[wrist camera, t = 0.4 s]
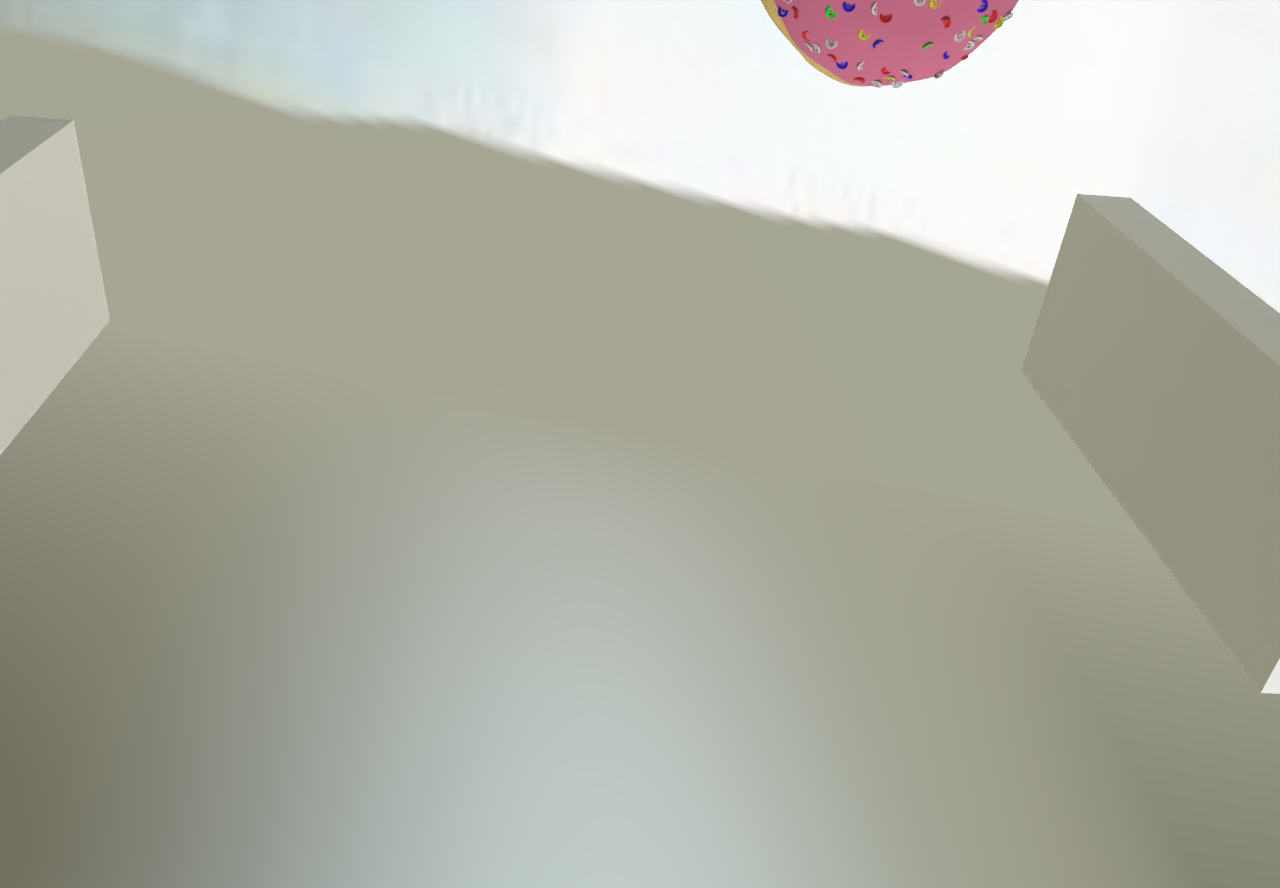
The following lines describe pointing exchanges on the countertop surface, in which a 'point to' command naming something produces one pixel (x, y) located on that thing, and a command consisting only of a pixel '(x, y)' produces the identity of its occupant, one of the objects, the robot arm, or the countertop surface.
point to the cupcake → (886, 35)
